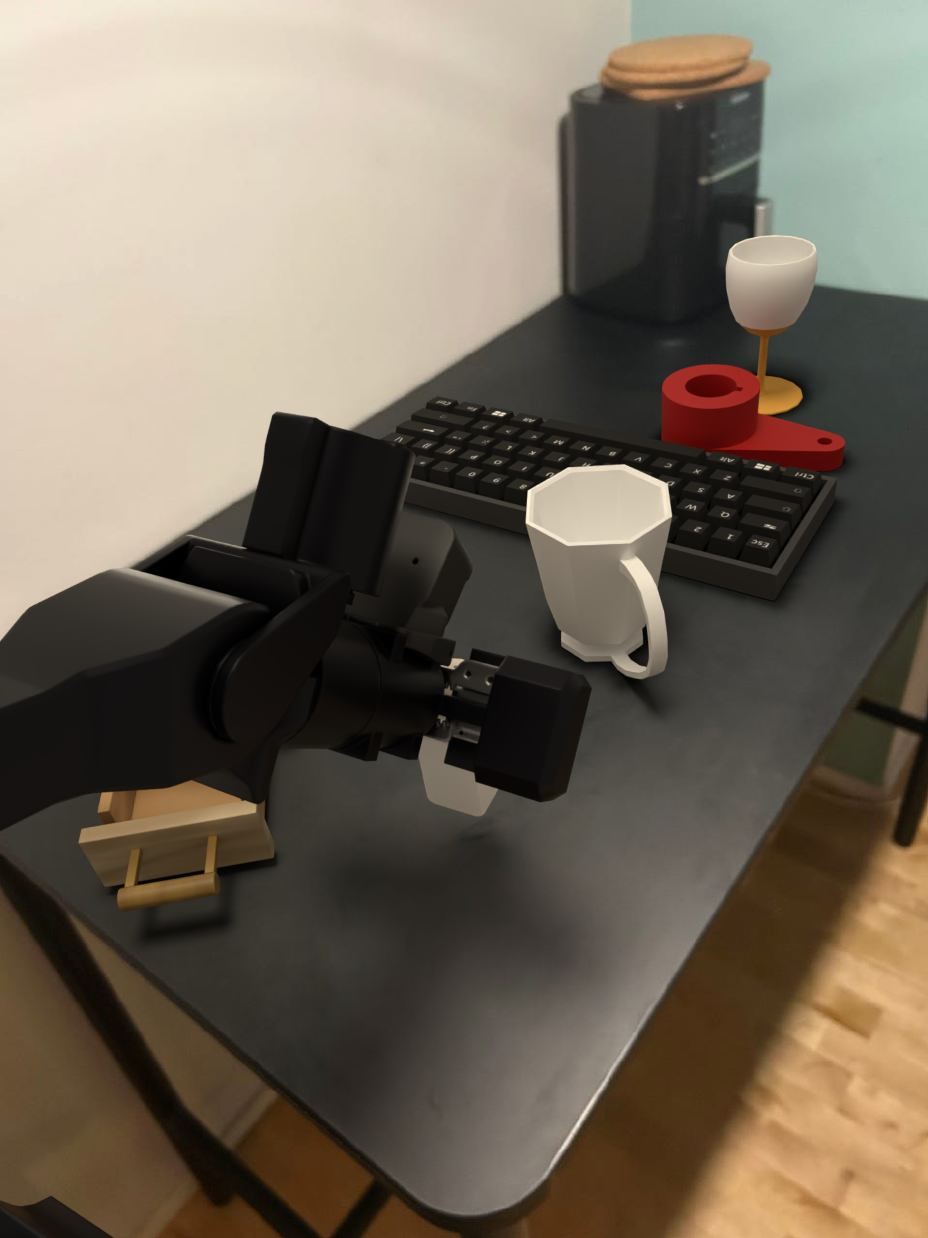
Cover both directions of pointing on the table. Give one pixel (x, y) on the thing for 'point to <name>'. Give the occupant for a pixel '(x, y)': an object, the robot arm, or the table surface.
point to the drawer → (173, 841)
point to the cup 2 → (771, 301)
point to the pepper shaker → (451, 776)
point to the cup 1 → (603, 561)
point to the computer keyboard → (697, 480)
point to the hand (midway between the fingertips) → (465, 698)
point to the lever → (739, 421)
